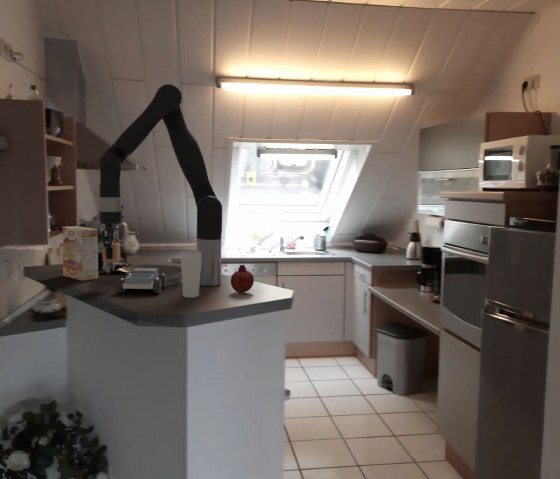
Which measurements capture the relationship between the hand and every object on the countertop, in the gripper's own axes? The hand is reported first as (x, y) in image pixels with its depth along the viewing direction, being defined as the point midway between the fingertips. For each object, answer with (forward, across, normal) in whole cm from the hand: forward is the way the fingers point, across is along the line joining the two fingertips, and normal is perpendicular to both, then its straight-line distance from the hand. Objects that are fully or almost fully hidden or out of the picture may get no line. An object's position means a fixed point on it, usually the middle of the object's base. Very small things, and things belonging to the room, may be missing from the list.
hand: (111, 257), depth 190 cm
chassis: (+11, -4, -12) cm, 16 cm away
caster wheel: (+11, +32, +5) cm, 35 cm away
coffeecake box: (+11, +19, +17) cm, 28 cm away
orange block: (+1, 0, 0) cm, 1 cm away
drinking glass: (+11, -14, -30) cm, 35 cm away
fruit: (+12, -7, -46) cm, 48 cm away
